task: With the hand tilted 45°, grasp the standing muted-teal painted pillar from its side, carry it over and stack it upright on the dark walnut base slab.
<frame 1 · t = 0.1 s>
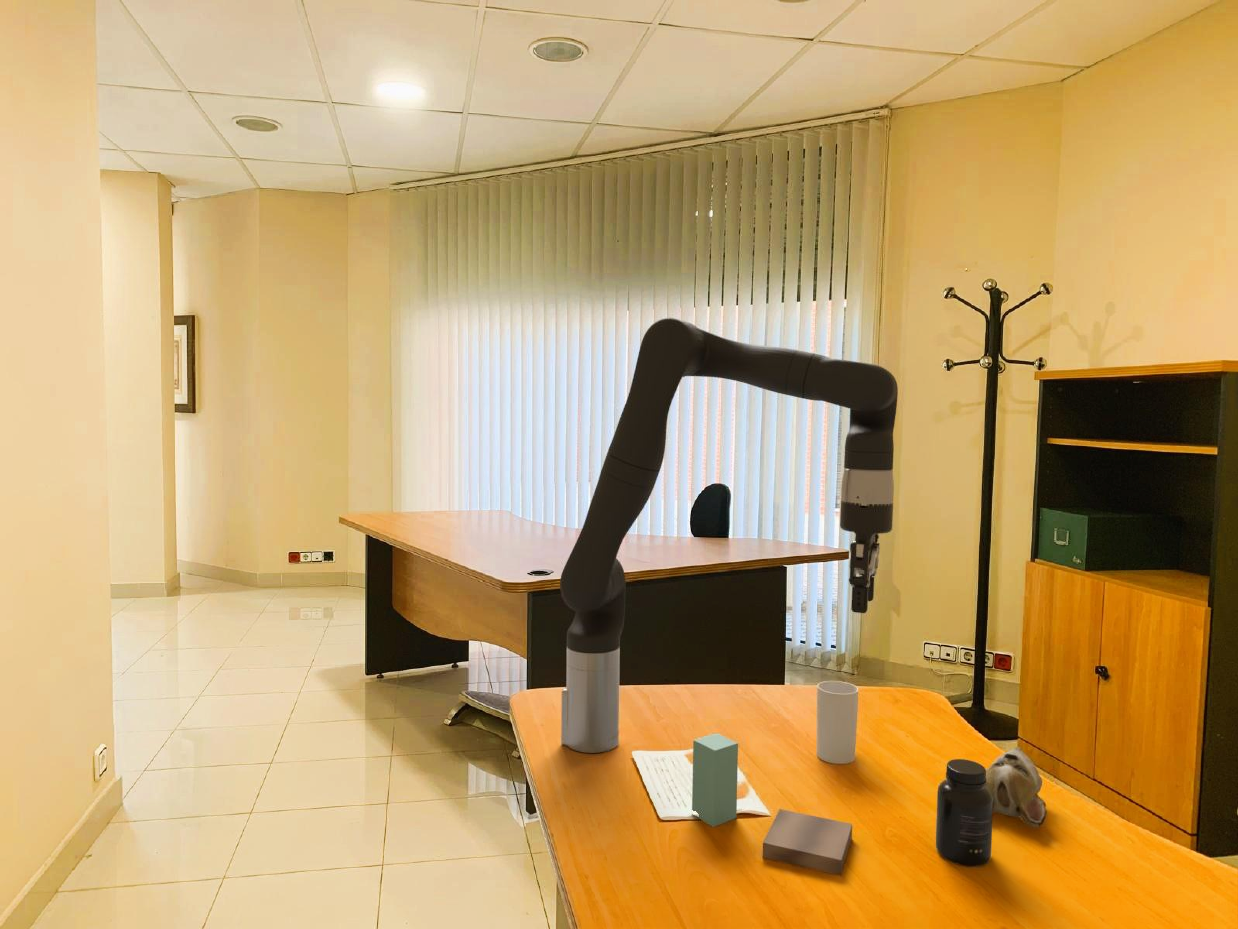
hand: (862, 606, 124), 29 cm above the table, tool pointing down, fingers open, 8 cm apart
pillar: (714, 816, 118), on the table
supplement bottle: (962, 855, 109), on the table
ceramic sculpture: (1008, 812, 121), on the table
mug: (838, 754, 140), on the table
base: (808, 847, 110), on the table
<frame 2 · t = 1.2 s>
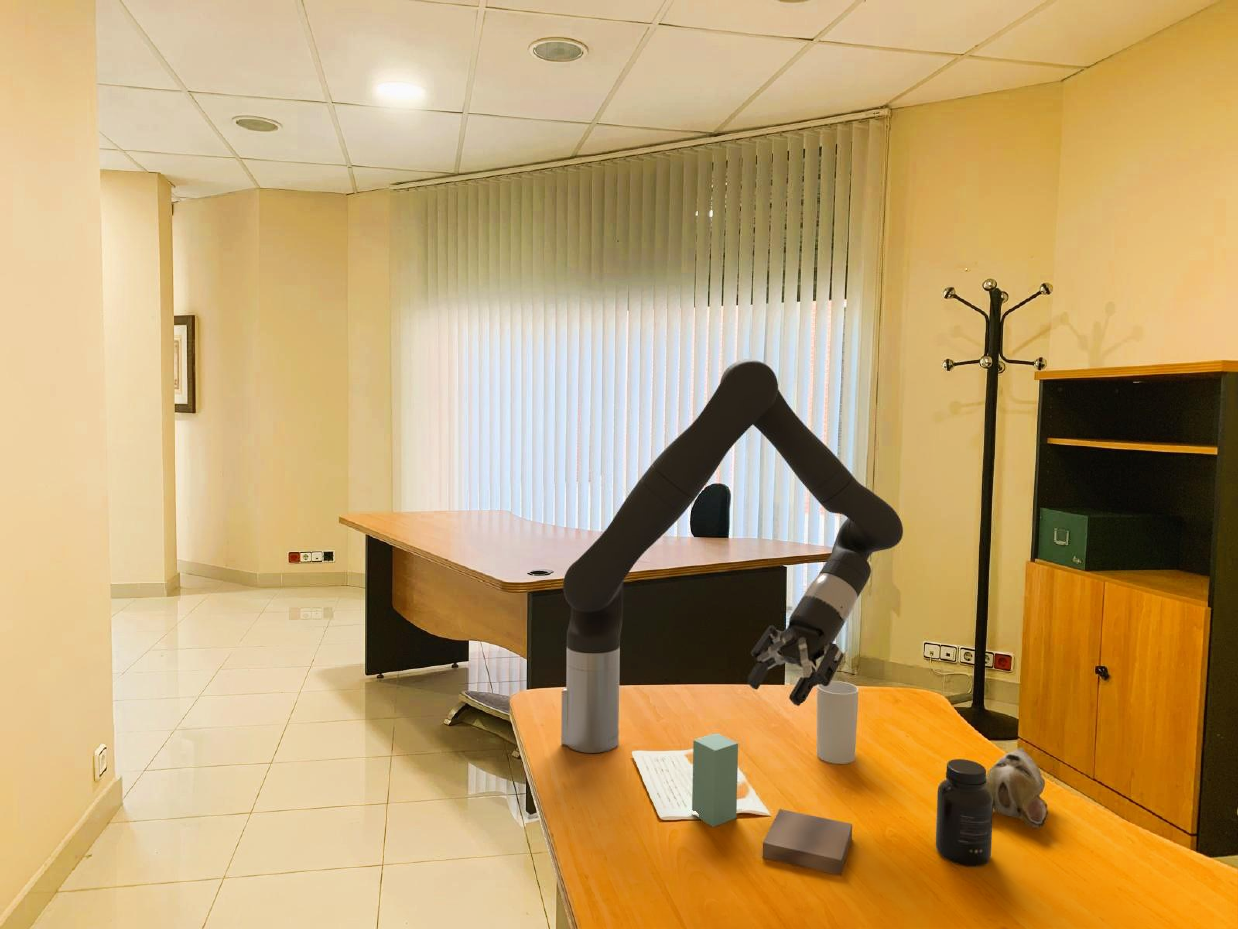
hand: (772, 694, 124), 16 cm above the table, tool tilted 45°, fingers open, 8 cm apart
nothing on the table moved.
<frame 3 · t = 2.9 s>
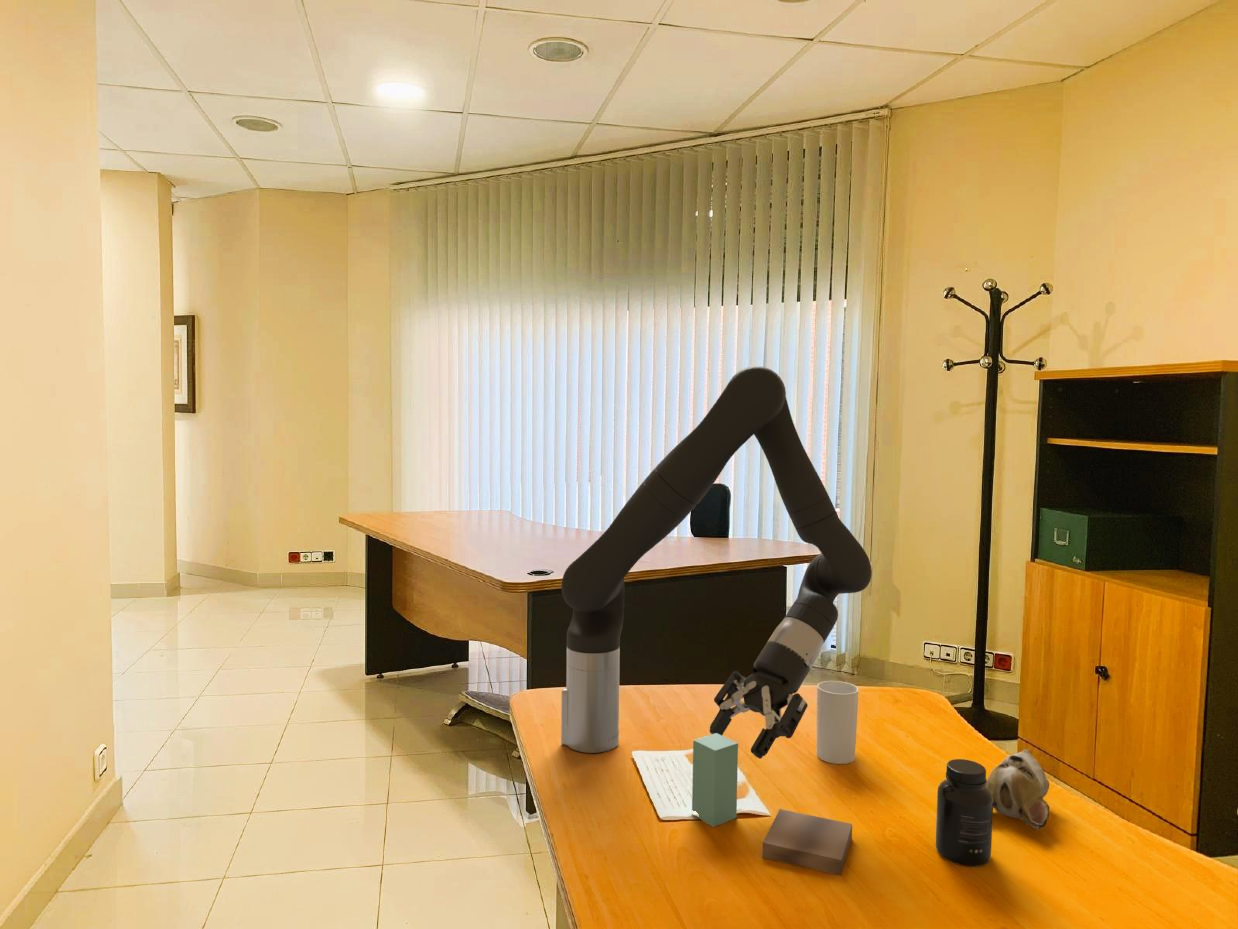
hand: (734, 745, 120), 10 cm above the table, tool tilted 45°, fingers open, 8 cm apart
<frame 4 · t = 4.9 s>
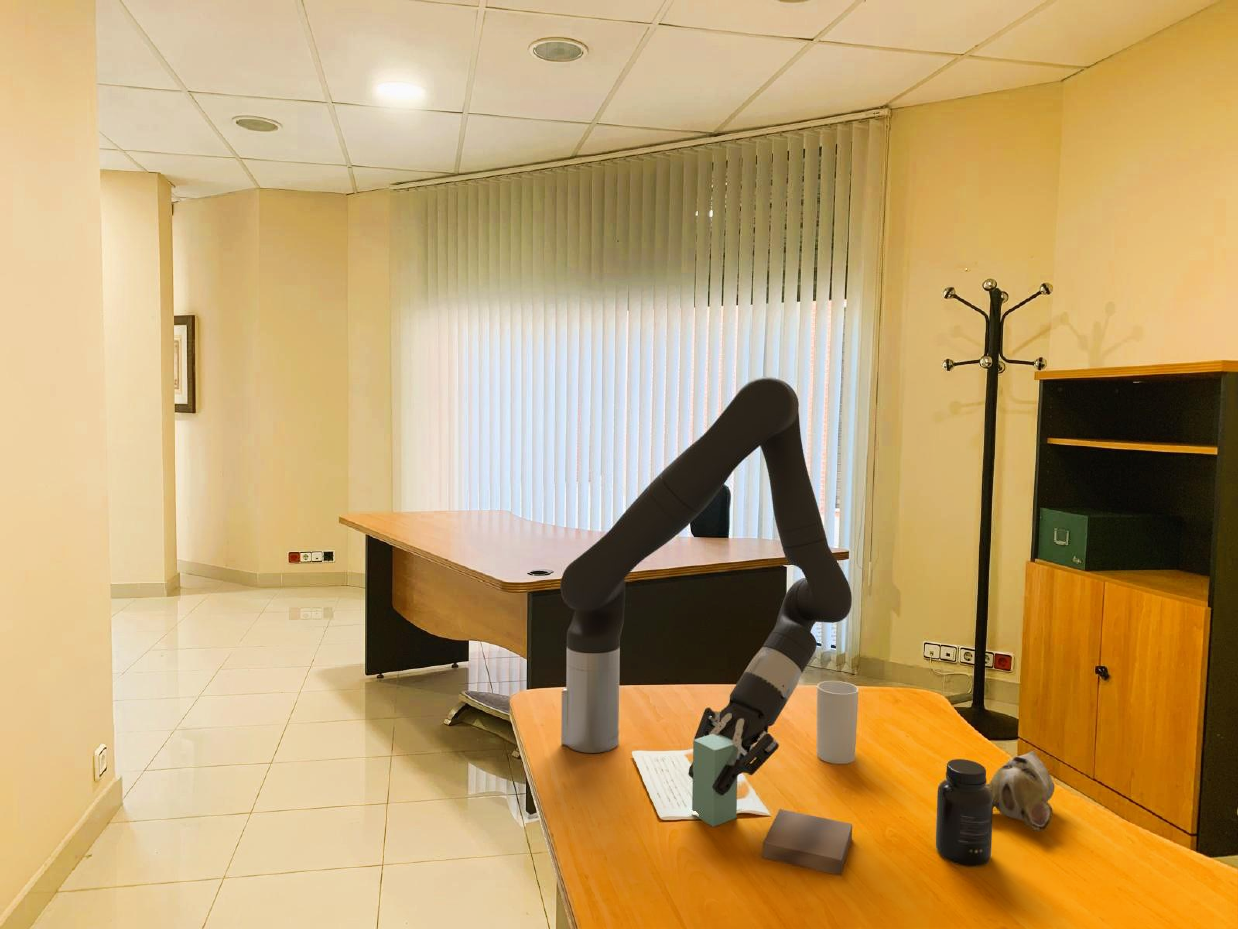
hand: (705, 784, 117), 5 cm above the table, tool tilted 45°, fingers closed on pillar, 4 cm apart
pillar: (714, 816, 118), on the table, touching gripper
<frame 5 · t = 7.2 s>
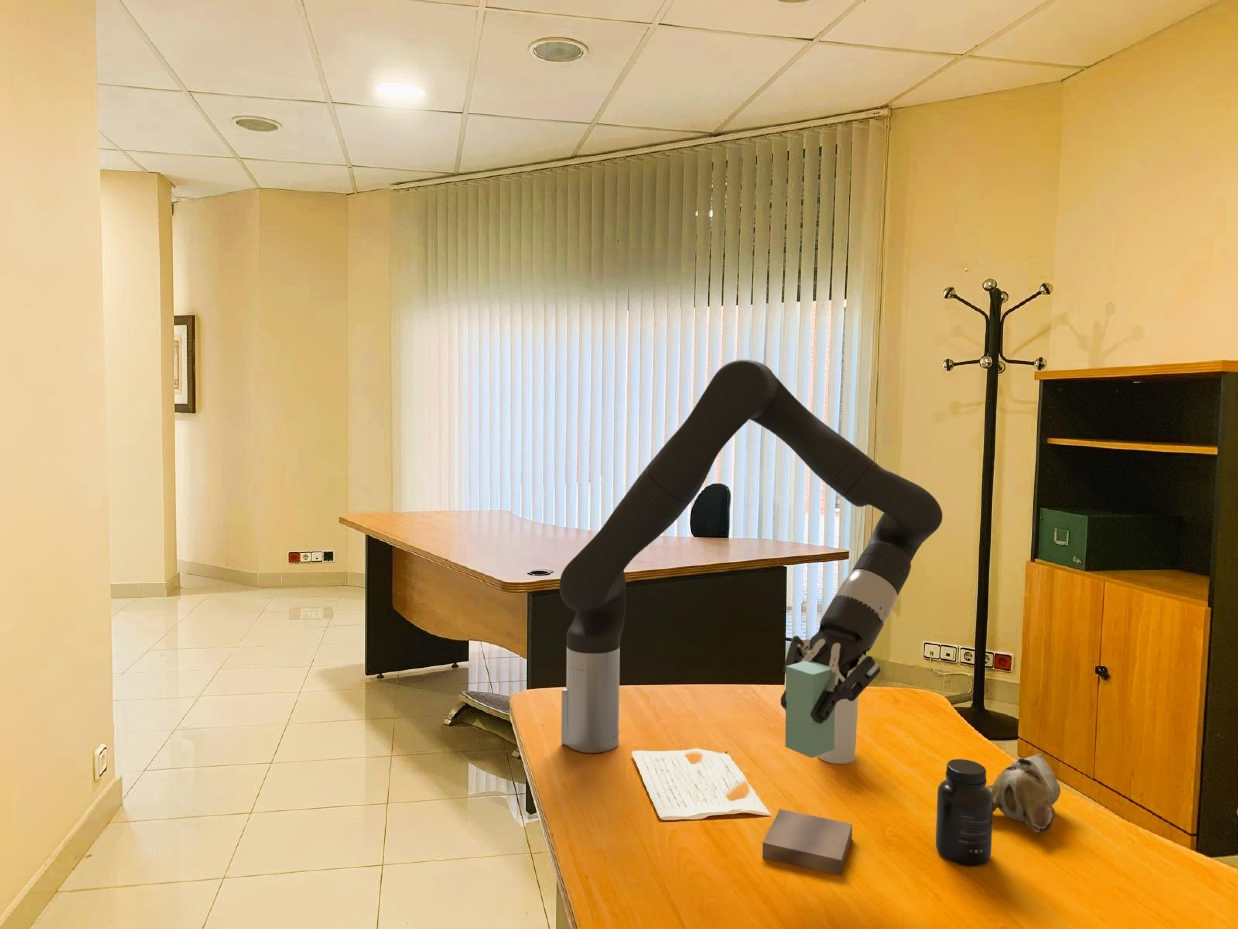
hand: (800, 713, 108), 19 cm above the table, tool tilted 45°, fingers closed on pillar, 4 cm apart
pillar: (809, 748, 109), point 13 cm above the table, touching gripper
when the fingers open (8 cm above the table, at t = 9.5 s): pillar drops 1 cm, resting on base.
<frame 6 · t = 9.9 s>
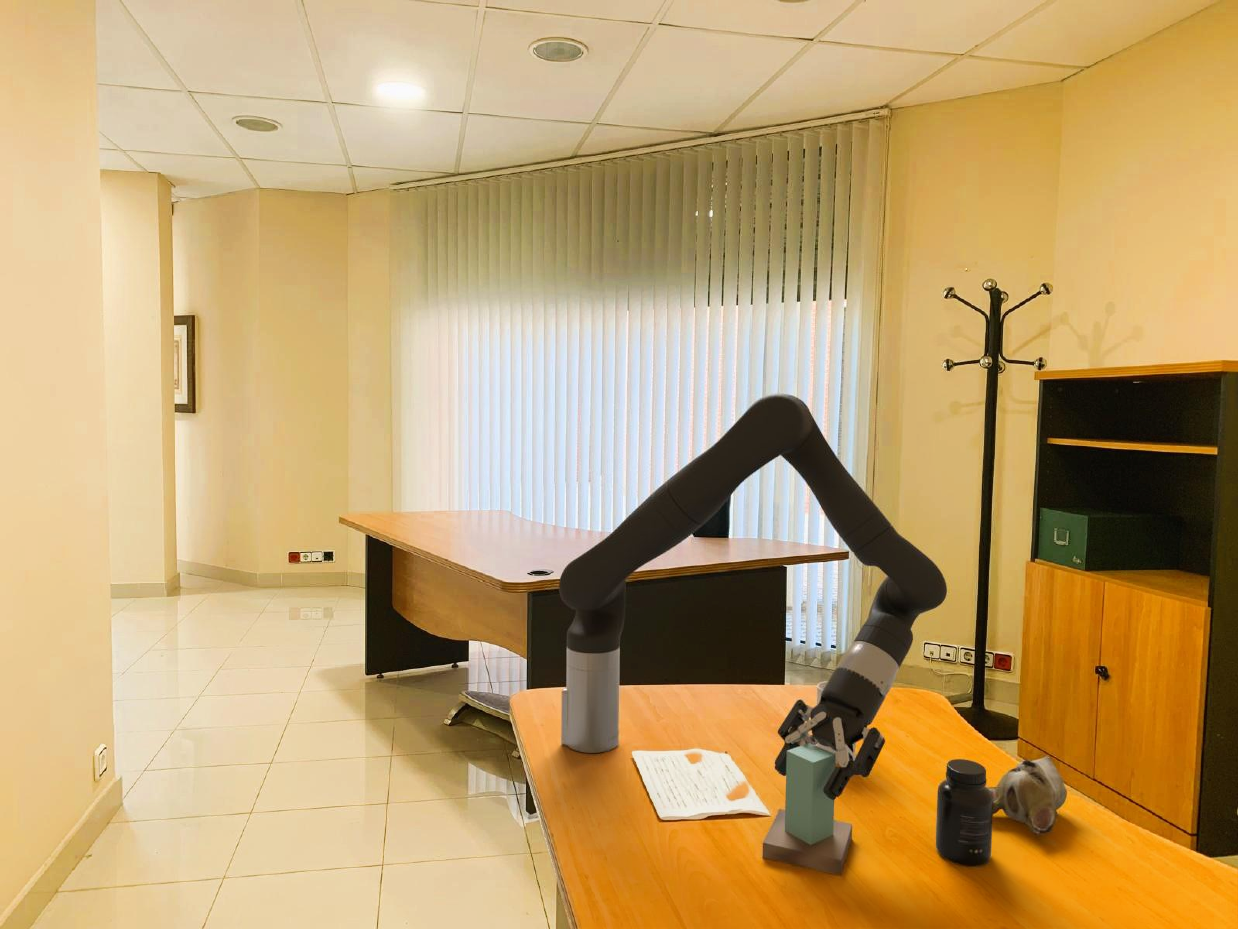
hand: (803, 784, 108), 9 cm above the table, tool tilted 45°, fingers open, 8 cm apart
pillar: (808, 832, 110), point 2 cm above the table, touching base
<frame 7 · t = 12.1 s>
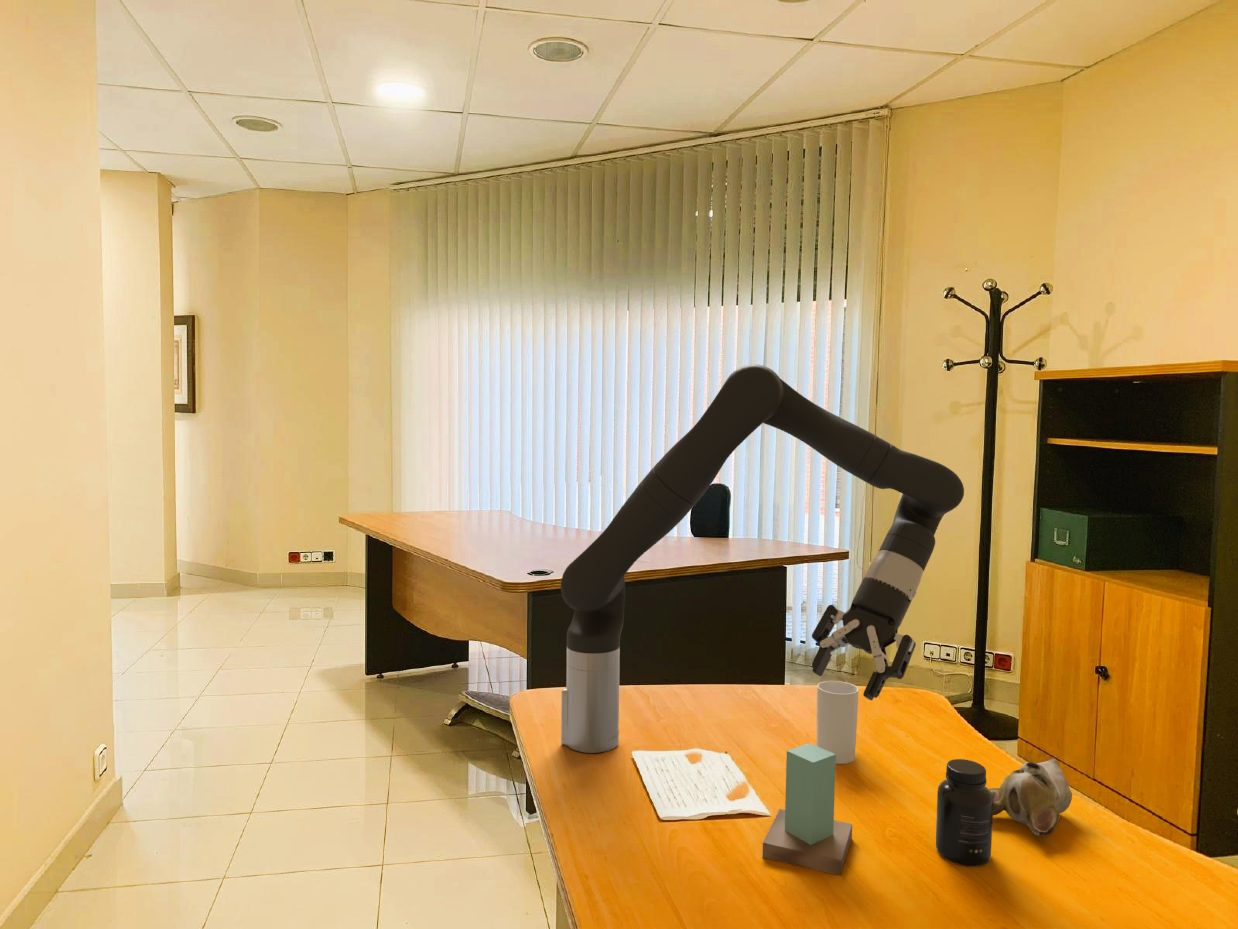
hand: (841, 685, 119), 19 cm above the table, tool tilted 35°, fingers open, 8 cm apart
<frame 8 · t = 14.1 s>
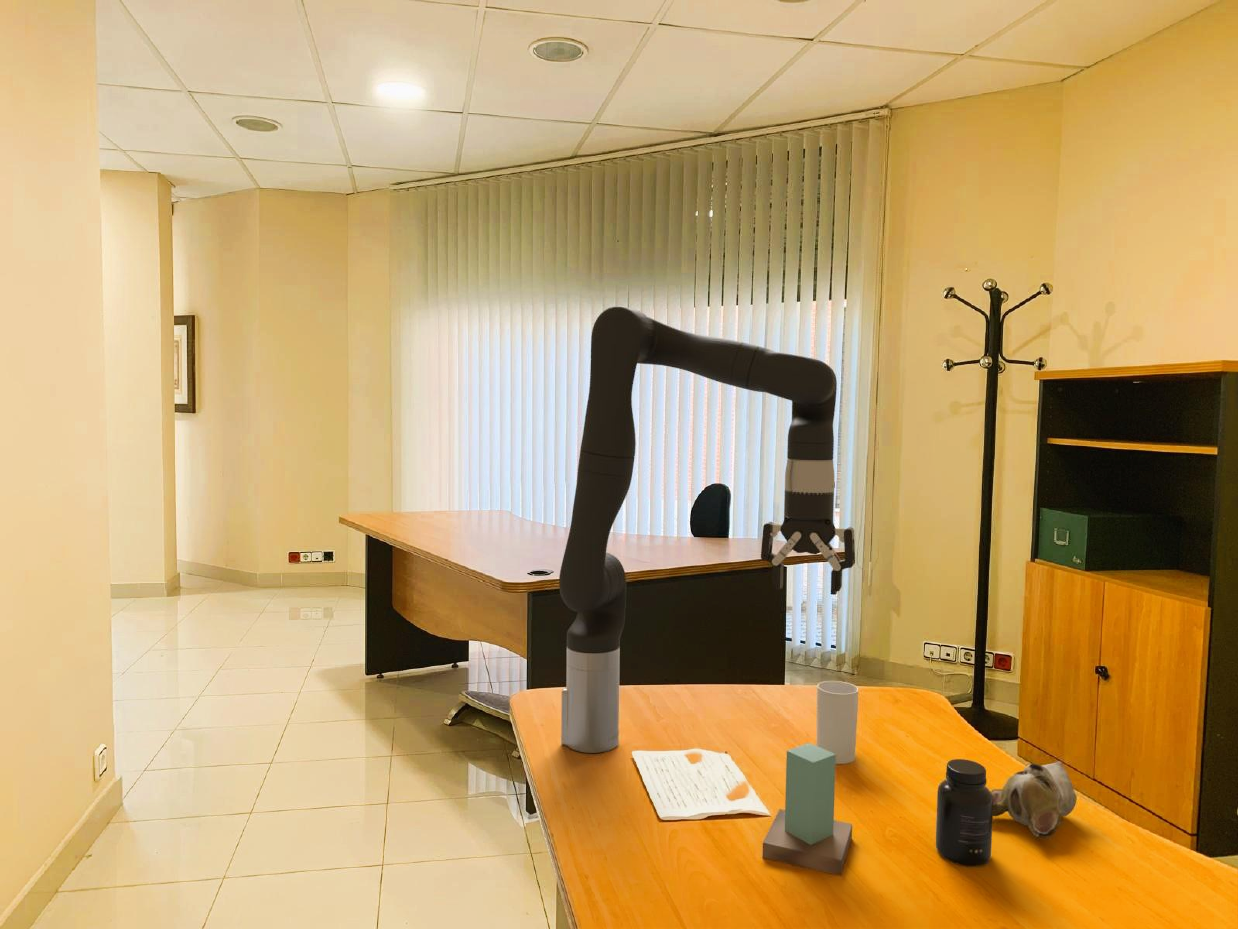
hand: (806, 591, 129), 30 cm above the table, tool pointing down, fingers open, 8 cm apart
at the end: pillar 0.1 cm off-centre on the base, point 2.0 cm above the base's base; pillar tilted 0°; the gripper is holding nothing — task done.
